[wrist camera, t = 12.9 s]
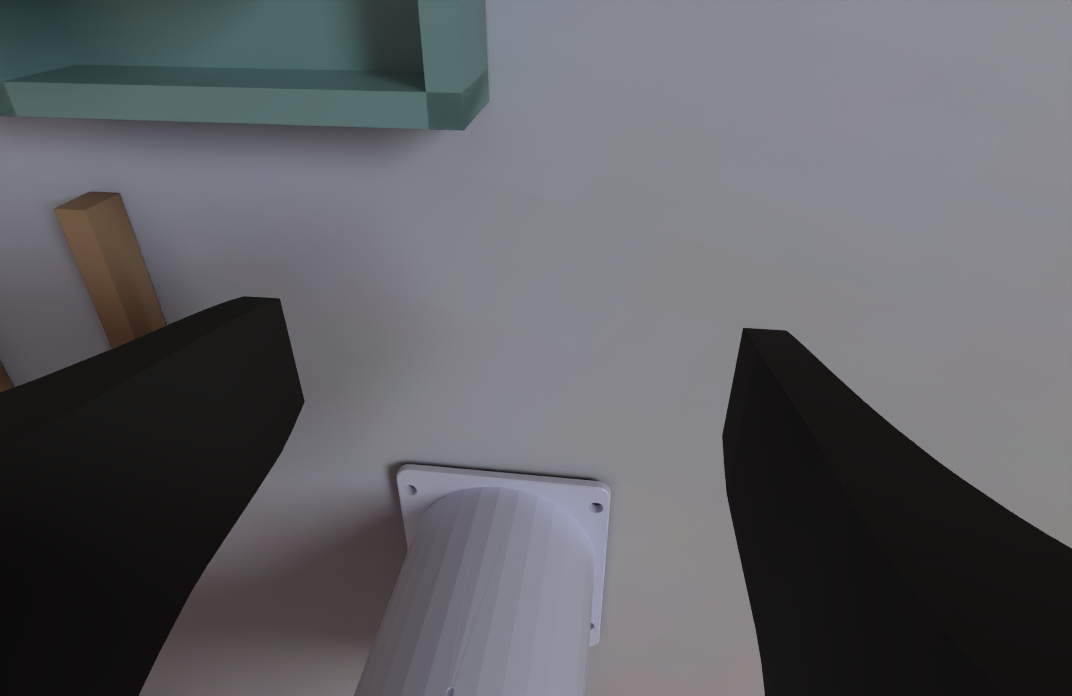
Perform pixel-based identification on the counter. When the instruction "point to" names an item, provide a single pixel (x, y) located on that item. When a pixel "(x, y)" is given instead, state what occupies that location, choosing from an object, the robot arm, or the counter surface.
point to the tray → (247, 61)
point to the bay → (109, 268)
